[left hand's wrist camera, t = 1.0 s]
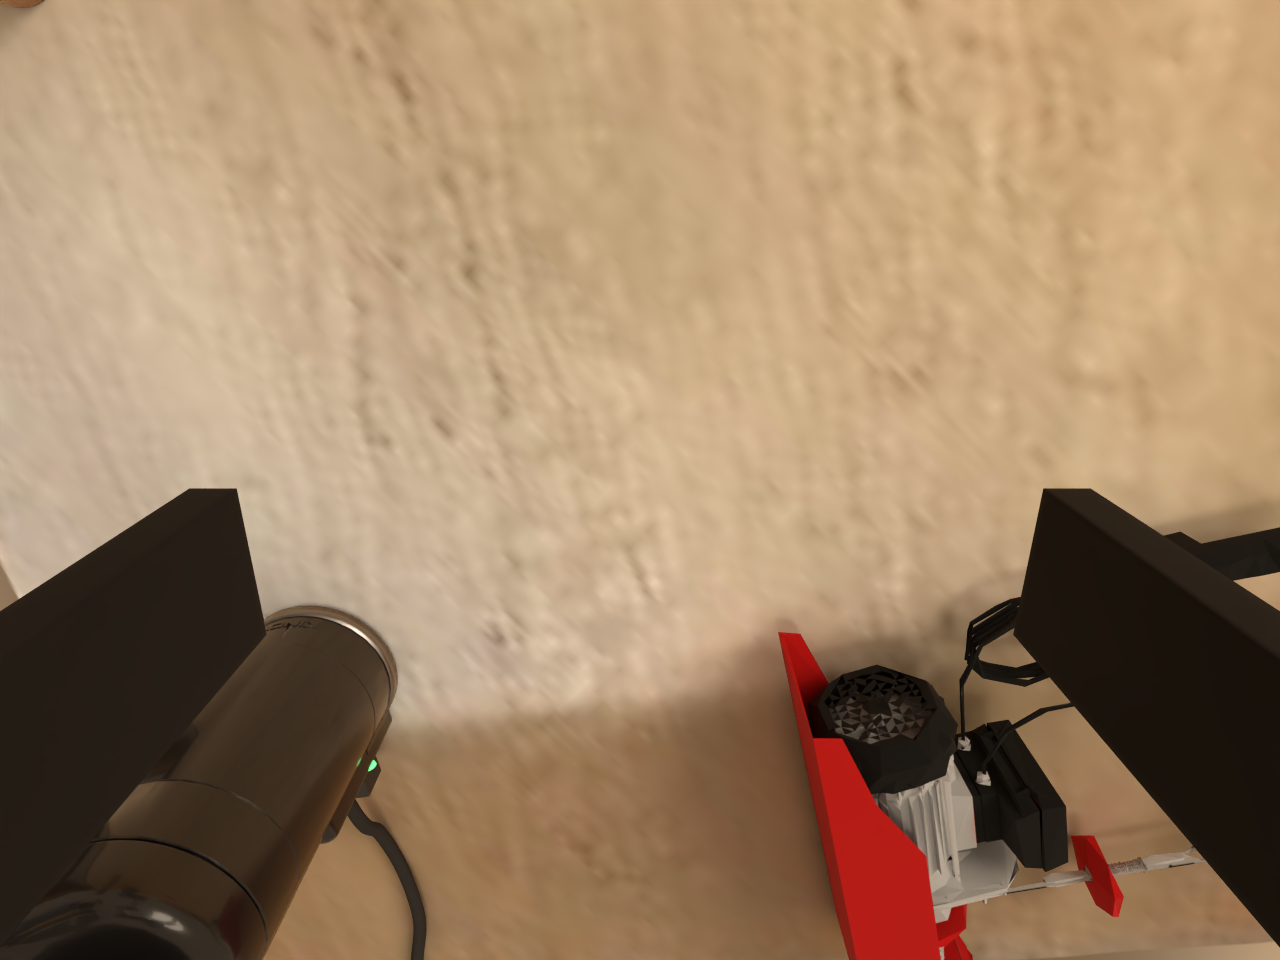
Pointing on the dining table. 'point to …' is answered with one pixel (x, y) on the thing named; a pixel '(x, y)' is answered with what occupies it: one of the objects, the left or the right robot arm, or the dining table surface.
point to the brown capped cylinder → (20, 3)
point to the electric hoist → (948, 790)
